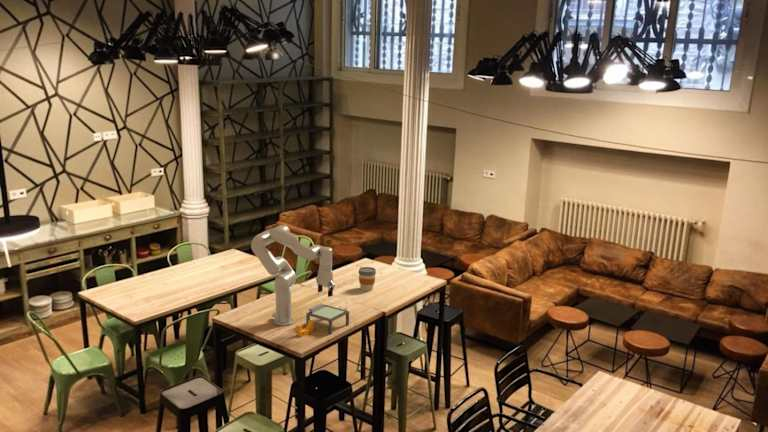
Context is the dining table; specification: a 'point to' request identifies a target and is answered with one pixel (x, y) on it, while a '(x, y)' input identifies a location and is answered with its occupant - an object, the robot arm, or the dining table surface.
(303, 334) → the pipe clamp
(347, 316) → the frame
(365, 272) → the reusable coffee cup
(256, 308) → the dining table surface
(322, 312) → the trapdoor
